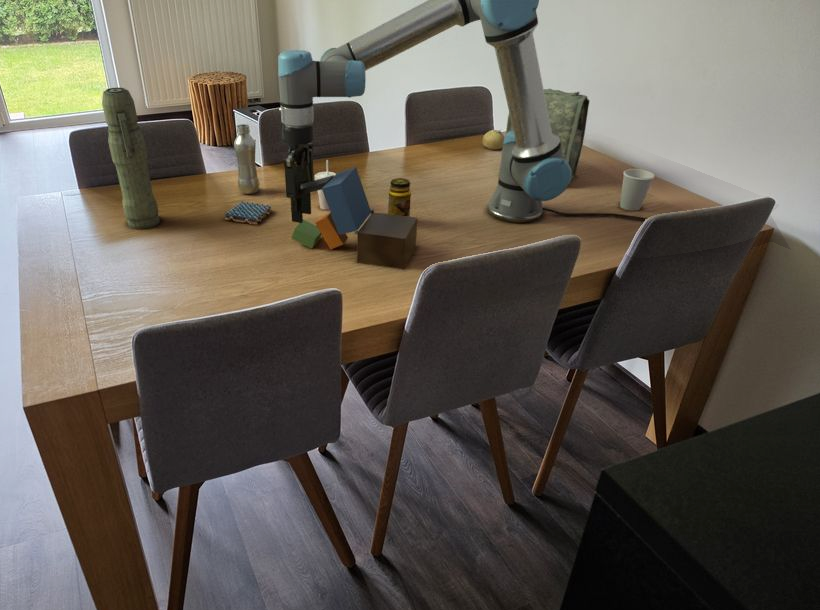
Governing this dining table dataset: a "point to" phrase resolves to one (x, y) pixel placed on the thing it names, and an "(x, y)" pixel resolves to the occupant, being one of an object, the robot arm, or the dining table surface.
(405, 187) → the condiment
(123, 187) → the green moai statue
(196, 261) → the dining table surface
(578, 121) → the lunch bag
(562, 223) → the dining table surface
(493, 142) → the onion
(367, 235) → the stand
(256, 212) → the woven mat
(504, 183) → the robot arm
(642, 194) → the dixie cup
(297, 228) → the green square block
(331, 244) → the orange rectangular block
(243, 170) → the plastic bottle
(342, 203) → the blue open box
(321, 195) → the smoothie
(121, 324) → the dining table surface
